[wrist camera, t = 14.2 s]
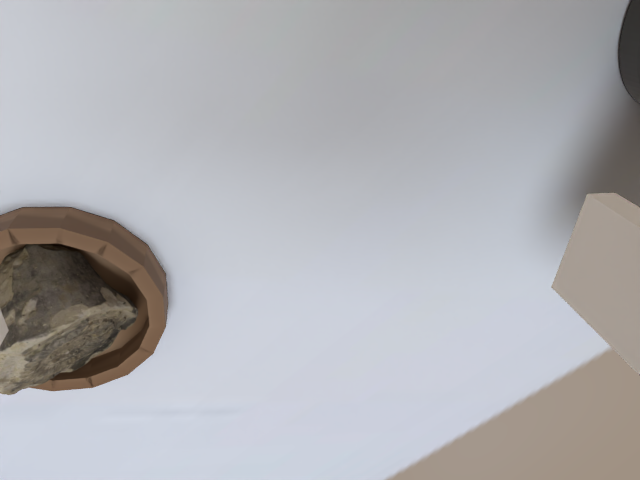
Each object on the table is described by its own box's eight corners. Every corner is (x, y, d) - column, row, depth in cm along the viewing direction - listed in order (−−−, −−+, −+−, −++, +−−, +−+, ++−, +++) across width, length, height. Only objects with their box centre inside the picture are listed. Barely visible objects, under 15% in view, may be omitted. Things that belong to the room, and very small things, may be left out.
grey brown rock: (117, 369, 40) (24, 456, 31) (29, 312, 41) (-89, 382, 31) (160, 276, 36) (67, 346, 27) (62, 213, 36) (-65, 260, 27)
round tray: (160, 206, 35) (157, 226, 33) (172, 355, 43) (170, 380, 40) (-81, 207, 31) (-105, 230, 29) (-20, 370, 39) (-34, 398, 37)
